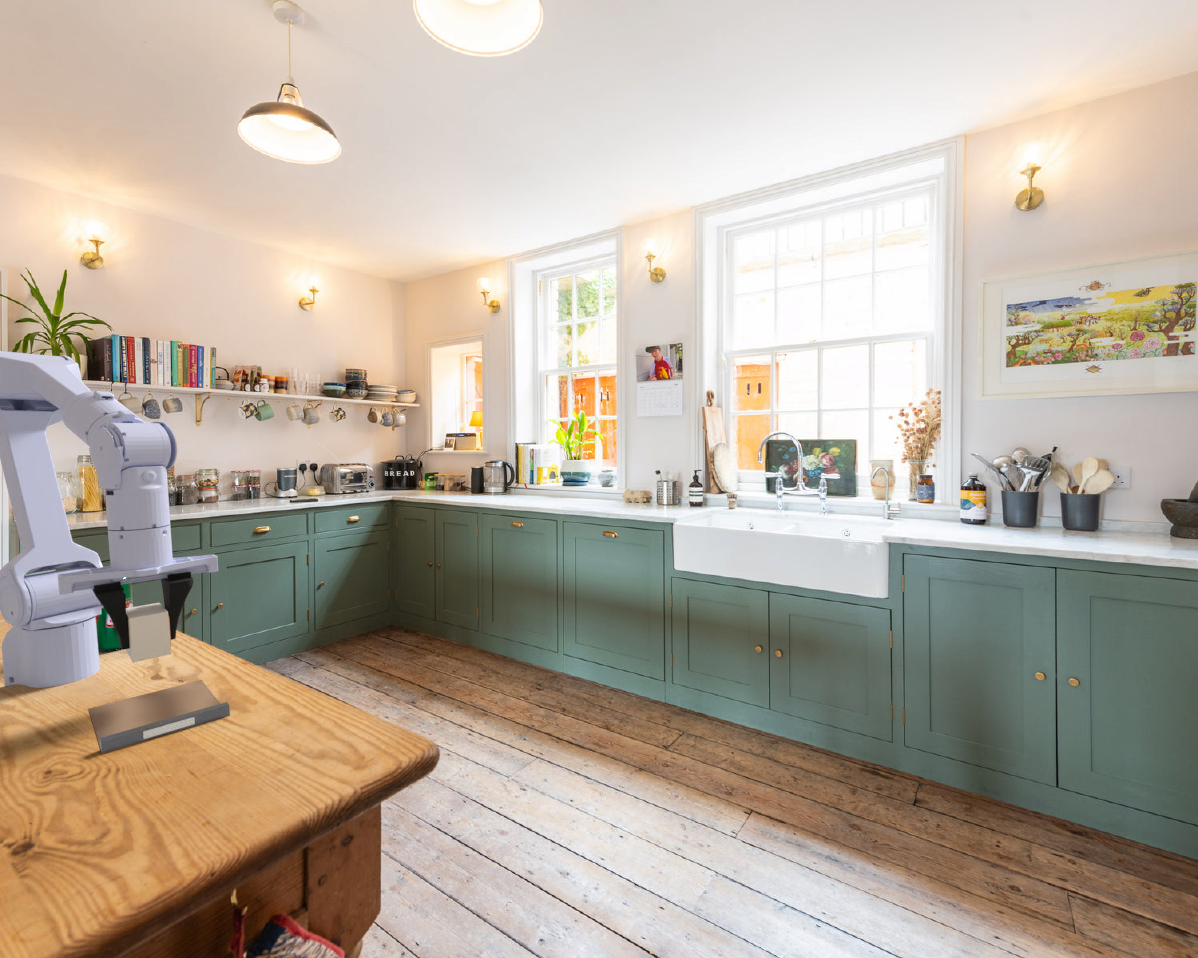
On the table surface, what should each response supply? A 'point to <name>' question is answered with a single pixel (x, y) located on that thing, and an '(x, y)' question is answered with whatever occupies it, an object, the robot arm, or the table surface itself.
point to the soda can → (110, 625)
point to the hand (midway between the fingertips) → (148, 642)
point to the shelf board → (151, 708)
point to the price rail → (163, 727)
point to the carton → (148, 632)
